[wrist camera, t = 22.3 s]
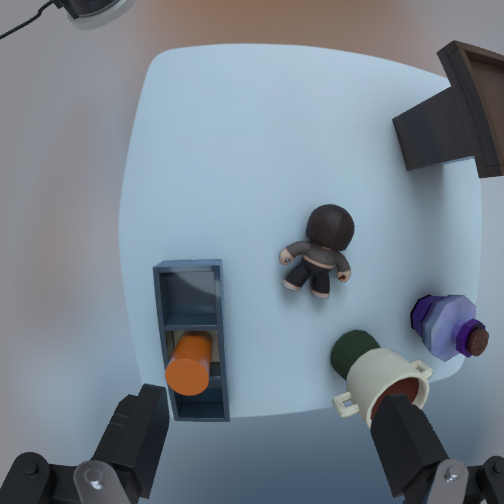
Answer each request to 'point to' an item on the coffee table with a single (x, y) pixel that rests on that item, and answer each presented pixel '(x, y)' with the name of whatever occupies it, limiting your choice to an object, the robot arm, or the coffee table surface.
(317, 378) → the coffee table surface
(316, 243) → the figurine
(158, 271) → the three-compartment dish
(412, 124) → the walnut tray stand
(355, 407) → the character mug
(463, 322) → the potion bottle
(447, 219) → the coffee table surface
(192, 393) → the orange glossy cylinder
